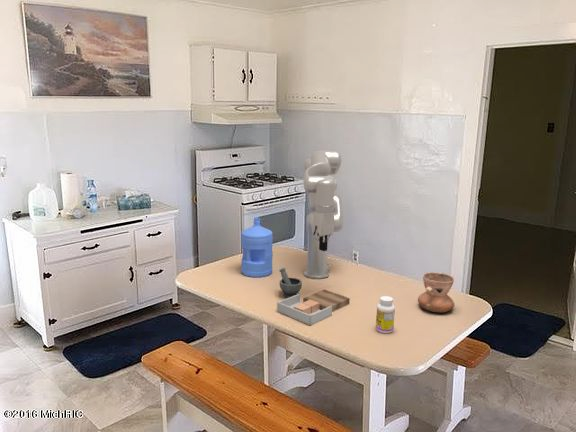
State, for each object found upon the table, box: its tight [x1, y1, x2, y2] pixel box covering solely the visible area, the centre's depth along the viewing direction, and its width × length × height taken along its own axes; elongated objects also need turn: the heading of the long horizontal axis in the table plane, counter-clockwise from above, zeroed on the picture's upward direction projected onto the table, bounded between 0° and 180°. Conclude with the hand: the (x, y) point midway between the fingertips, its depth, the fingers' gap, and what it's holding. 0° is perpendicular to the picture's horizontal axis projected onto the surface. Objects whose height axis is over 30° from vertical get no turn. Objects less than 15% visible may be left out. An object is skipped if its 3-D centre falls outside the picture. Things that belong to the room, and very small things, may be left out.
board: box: [302, 289, 351, 313], centre depth 208 cm, size 14×14×2 cm
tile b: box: [294, 302, 311, 314], centre depth 196 cm, size 5×5×3 cm
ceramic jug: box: [417, 271, 455, 313], centre depth 204 cm, size 18×14×14 cm
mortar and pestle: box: [279, 267, 303, 299], centre depth 214 cm, size 11×9×12 cm
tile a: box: [302, 300, 320, 313], centre depth 200 cm, size 5×5×3 cm
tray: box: [276, 293, 333, 326], centre depth 198 cm, size 13×18×4 cm
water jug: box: [240, 216, 274, 278], centre depth 241 cm, size 16×16×28 cm
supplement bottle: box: [375, 295, 396, 334], centre depth 183 cm, size 7×7×13 cm
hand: (323, 250), depth 210 cm, fingers closed
